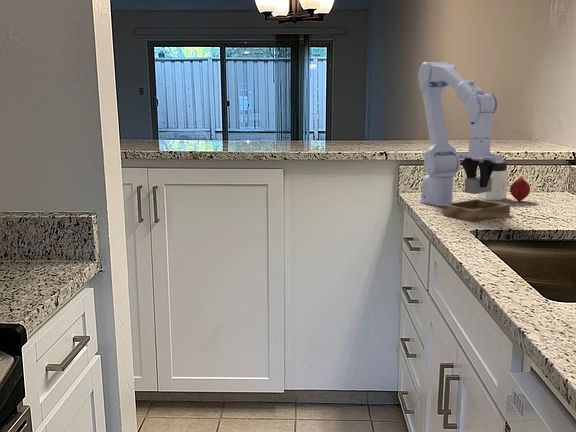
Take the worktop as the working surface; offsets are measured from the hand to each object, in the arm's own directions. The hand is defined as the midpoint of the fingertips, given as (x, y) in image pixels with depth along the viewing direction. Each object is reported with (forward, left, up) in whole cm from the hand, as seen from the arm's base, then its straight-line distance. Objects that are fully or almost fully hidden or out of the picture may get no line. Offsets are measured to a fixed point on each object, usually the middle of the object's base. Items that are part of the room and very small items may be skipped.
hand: (477, 186), depth 165 cm
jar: (-14, +25, -9) cm, 30 cm away
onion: (-5, +27, -9) cm, 29 cm away
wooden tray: (0, 0, -8) cm, 8 cm away
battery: (0, 0, -2) cm, 2 cm away
